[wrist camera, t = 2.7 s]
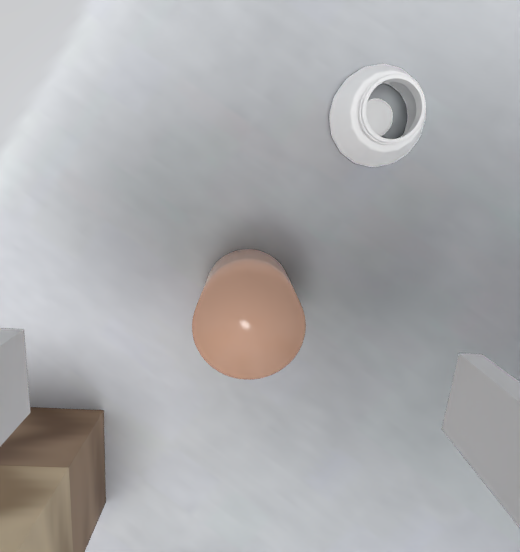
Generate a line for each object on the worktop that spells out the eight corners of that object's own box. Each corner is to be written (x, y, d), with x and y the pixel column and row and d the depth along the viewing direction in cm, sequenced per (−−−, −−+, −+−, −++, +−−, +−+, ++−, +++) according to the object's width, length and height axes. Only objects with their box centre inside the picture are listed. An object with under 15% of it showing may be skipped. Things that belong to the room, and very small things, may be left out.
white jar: (422, 157, 21) (415, 60, 20) (449, 154, 19) (443, 40, 17) (334, 174, 21) (322, 78, 20) (348, 173, 19) (334, 61, 17)
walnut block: (103, 410, 24) (68, 467, 19) (105, 501, 26) (73, 576, 21) (-12, 405, 24) (-76, 462, 19) (-2, 498, 25) (-60, 573, 21)
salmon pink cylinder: (293, 252, 22) (311, 276, 16) (285, 332, 23) (299, 382, 18) (207, 245, 22) (194, 268, 16) (203, 327, 23) (190, 376, 17)
